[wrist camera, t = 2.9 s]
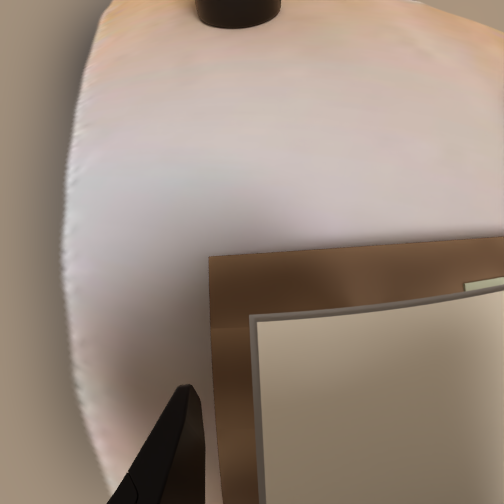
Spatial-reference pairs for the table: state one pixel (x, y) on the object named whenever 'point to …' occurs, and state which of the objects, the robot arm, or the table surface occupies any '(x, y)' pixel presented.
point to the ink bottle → (237, 12)
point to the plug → (382, 402)
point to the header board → (316, 298)
